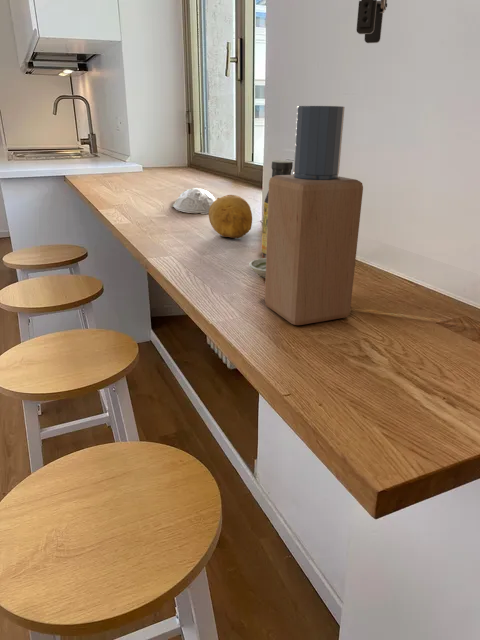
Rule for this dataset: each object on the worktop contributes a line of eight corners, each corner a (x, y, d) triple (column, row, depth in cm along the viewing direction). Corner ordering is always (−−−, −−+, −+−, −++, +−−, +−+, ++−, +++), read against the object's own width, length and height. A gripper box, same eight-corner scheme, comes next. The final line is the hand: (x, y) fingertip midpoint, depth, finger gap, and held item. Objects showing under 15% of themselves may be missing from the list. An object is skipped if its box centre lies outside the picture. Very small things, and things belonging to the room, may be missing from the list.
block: (293, 328, 70) (302, 183, 62) (262, 305, 78) (266, 174, 71) (352, 318, 74) (367, 180, 66) (316, 297, 82) (325, 172, 74)
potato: (223, 243, 116) (223, 200, 113) (202, 232, 127) (202, 192, 123) (261, 239, 121) (262, 197, 117) (238, 229, 131) (239, 190, 127)
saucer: (286, 266, 99) (286, 255, 98) (309, 280, 90) (310, 268, 90) (241, 271, 96) (241, 259, 95) (261, 286, 87) (261, 273, 86)
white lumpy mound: (217, 199, 174) (215, 179, 171) (223, 216, 151) (221, 194, 148) (173, 204, 173) (170, 184, 170) (173, 221, 150) (170, 199, 147)
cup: (341, 176, 70) (347, 107, 66) (333, 181, 65) (339, 106, 61) (299, 174, 72) (303, 106, 68) (288, 178, 67) (291, 105, 63)
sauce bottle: (256, 257, 105) (259, 159, 98) (282, 254, 107) (287, 159, 100) (269, 265, 100) (273, 162, 92) (297, 262, 102) (303, 161, 94)
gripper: (411, -137, 55) (392, 29, 62) (415, -90, 68) (399, 44, 74) (344, -127, 58) (332, 31, 64) (360, -84, 70) (349, 46, 76)
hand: (368, 38), depth 69 cm, fingers open, 8 cm apart
